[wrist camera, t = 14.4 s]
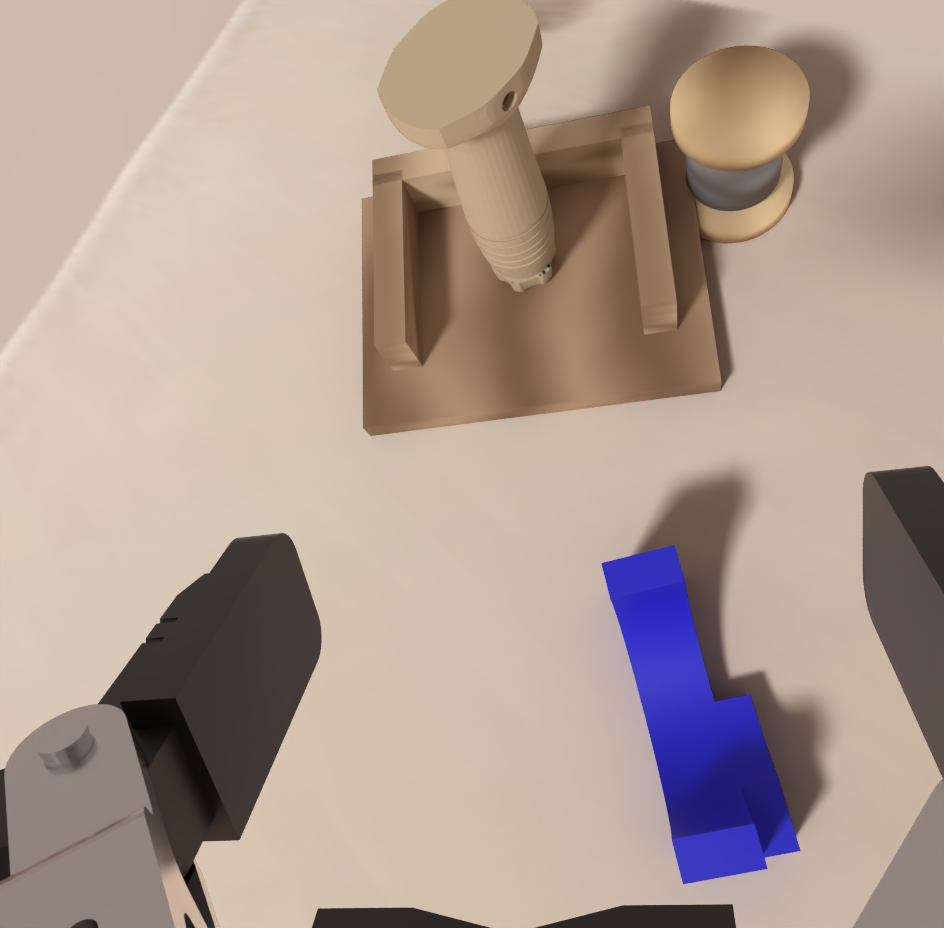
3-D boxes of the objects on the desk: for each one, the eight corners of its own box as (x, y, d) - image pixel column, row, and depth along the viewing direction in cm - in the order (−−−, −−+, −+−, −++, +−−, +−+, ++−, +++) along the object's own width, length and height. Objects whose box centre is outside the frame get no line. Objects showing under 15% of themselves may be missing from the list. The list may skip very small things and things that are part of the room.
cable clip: (791, 842, 36) (810, 861, 30) (684, 862, 36) (683, 883, 31) (708, 564, 40) (711, 536, 34) (613, 587, 41) (601, 563, 35)
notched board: (684, 152, 46) (684, 98, 43) (720, 390, 42) (724, 355, 38) (369, 210, 50) (342, 166, 46) (371, 435, 46) (341, 407, 42)
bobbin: (781, 134, 45) (797, 33, 39) (800, 232, 44) (820, 142, 37) (666, 155, 47) (662, 61, 40) (679, 252, 45) (678, 168, 38)
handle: (602, 246, 45) (564, 21, 31) (520, 336, 44) (444, 150, 30) (533, 200, 46) (468, -32, 32) (454, 287, 46) (353, 90, 32)
